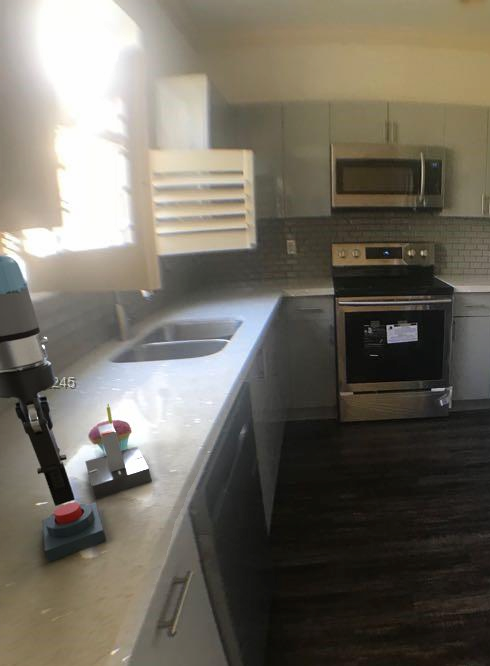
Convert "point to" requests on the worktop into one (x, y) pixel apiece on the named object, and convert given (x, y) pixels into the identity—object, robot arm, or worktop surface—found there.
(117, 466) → the hob knob
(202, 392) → the worktop surface
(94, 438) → the cupcake
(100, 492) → the plate
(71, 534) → the button box
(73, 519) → the button
